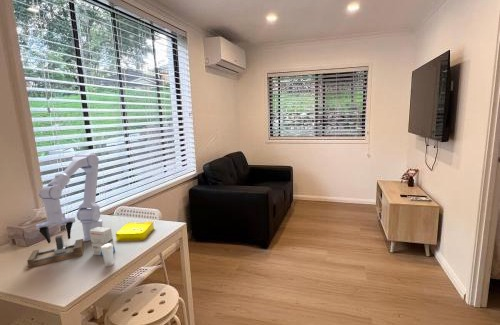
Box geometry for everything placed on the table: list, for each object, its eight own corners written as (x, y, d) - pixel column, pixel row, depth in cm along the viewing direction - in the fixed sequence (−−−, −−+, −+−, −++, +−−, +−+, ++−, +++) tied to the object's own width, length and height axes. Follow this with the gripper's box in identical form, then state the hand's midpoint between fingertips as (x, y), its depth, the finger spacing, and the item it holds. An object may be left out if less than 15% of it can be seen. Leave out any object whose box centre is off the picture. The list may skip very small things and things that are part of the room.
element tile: (155, 228, 157) (154, 220, 156) (144, 240, 142) (143, 231, 141) (128, 229, 157) (127, 221, 156) (115, 242, 142) (113, 233, 141)
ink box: (115, 251, 131) (111, 227, 129) (107, 256, 127) (103, 232, 125) (101, 249, 134) (97, 226, 132) (92, 254, 130) (88, 230, 128)
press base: (84, 246, 138) (82, 238, 138) (82, 255, 129) (80, 247, 129) (34, 257, 130) (32, 249, 129) (28, 267, 121) (26, 258, 120)
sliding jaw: (67, 248, 133) (64, 233, 132) (65, 253, 128) (62, 238, 127) (57, 250, 132) (54, 235, 130) (55, 255, 126) (52, 240, 125)
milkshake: (104, 262, 122) (100, 240, 120) (117, 261, 122) (113, 239, 120) (99, 268, 117) (96, 245, 116) (113, 266, 118) (109, 244, 116)
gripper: (31, 218, 120) (38, 247, 122) (71, 211, 126) (76, 239, 129) (35, 213, 126) (41, 241, 129) (73, 206, 132) (78, 233, 135)
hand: (59, 240), depth 129 cm, fingers open, 7 cm apart
